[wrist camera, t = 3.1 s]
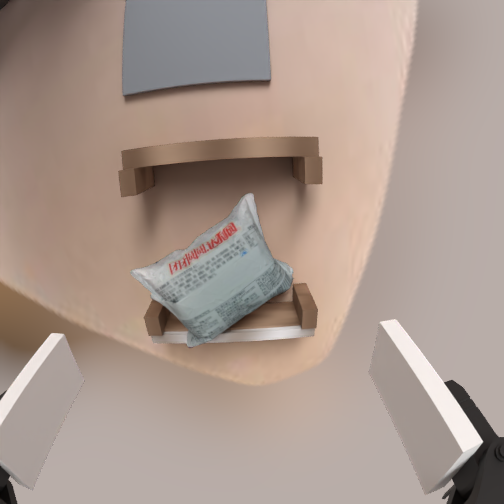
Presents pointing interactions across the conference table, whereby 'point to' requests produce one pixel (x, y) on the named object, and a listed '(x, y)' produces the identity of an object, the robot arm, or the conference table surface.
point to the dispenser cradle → (301, 148)
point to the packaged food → (218, 275)
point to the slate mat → (193, 43)
